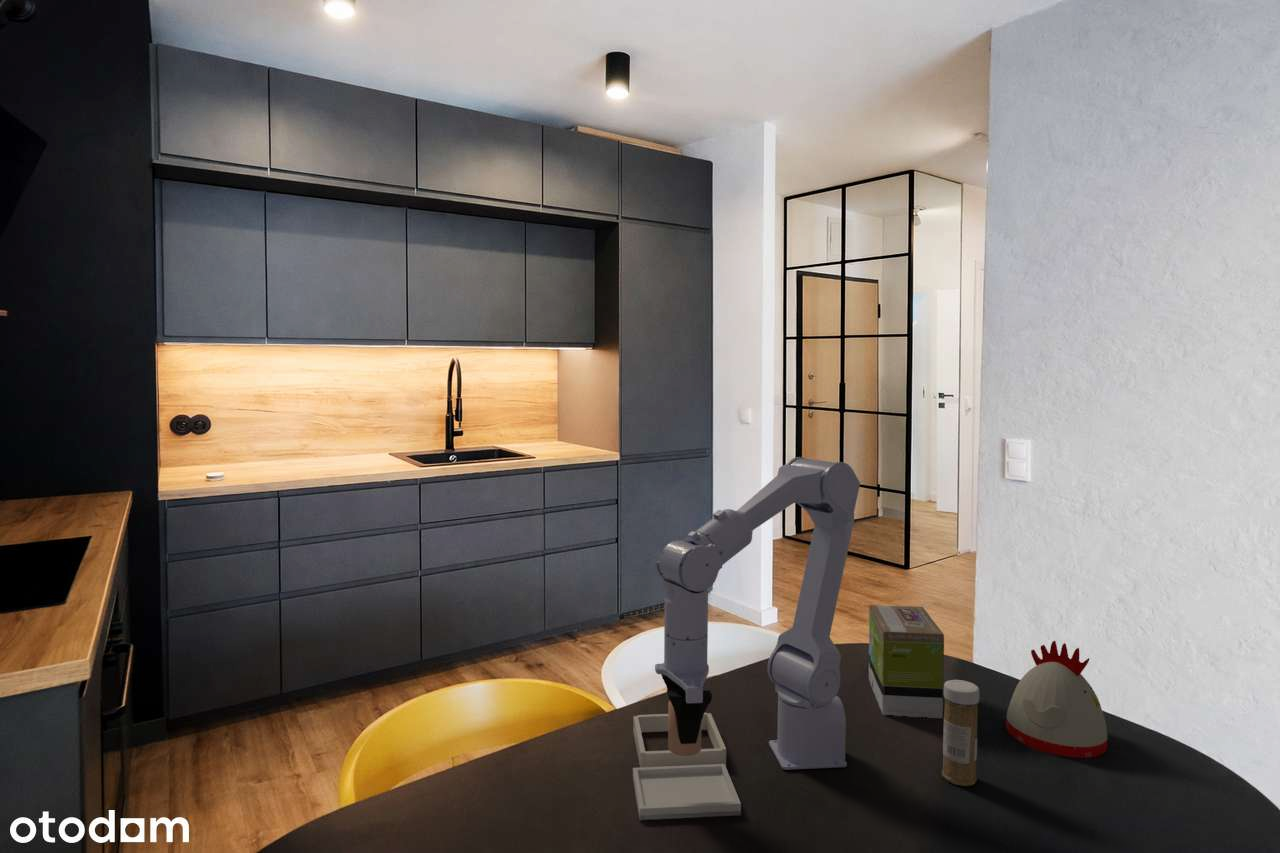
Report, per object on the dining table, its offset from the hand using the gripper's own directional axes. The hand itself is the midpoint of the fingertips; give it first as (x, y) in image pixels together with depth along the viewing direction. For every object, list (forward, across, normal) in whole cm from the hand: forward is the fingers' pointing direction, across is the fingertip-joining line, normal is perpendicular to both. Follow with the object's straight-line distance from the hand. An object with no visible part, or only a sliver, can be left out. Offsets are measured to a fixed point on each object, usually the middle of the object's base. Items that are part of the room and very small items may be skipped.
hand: (684, 733), depth 99 cm
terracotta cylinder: (+2, 0, 0) cm, 2 cm away
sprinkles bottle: (+9, -1, +39) cm, 40 cm away
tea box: (+9, -27, +43) cm, 52 cm away
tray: (+9, 0, 0) cm, 9 cm away
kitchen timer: (+9, -12, +61) cm, 63 cm away
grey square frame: (+9, -13, +1) cm, 16 cm away
